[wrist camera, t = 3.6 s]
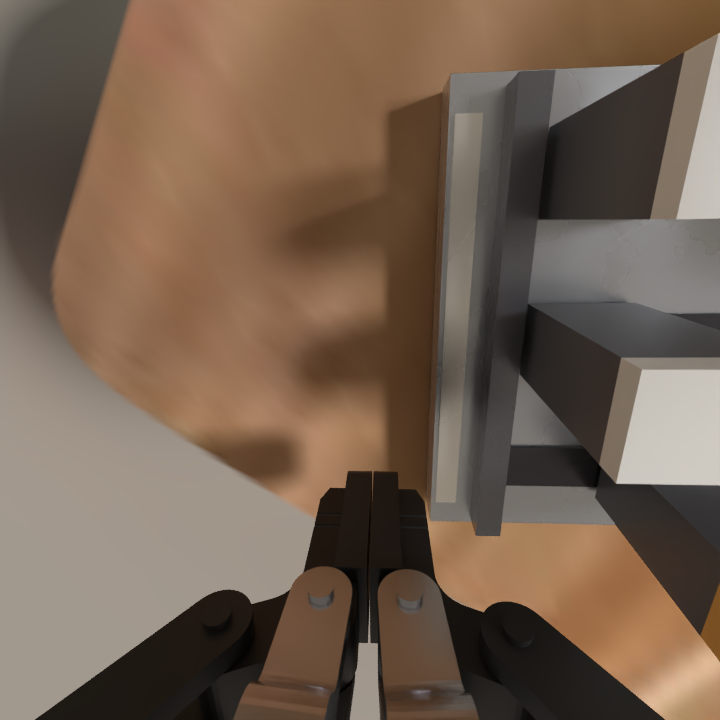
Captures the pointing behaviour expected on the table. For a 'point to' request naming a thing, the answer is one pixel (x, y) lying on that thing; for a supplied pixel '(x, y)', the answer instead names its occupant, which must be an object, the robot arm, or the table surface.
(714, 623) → the breaker
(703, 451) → the block
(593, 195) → the block
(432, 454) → the breaker panel
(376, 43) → the table surface
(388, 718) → the robot arm
